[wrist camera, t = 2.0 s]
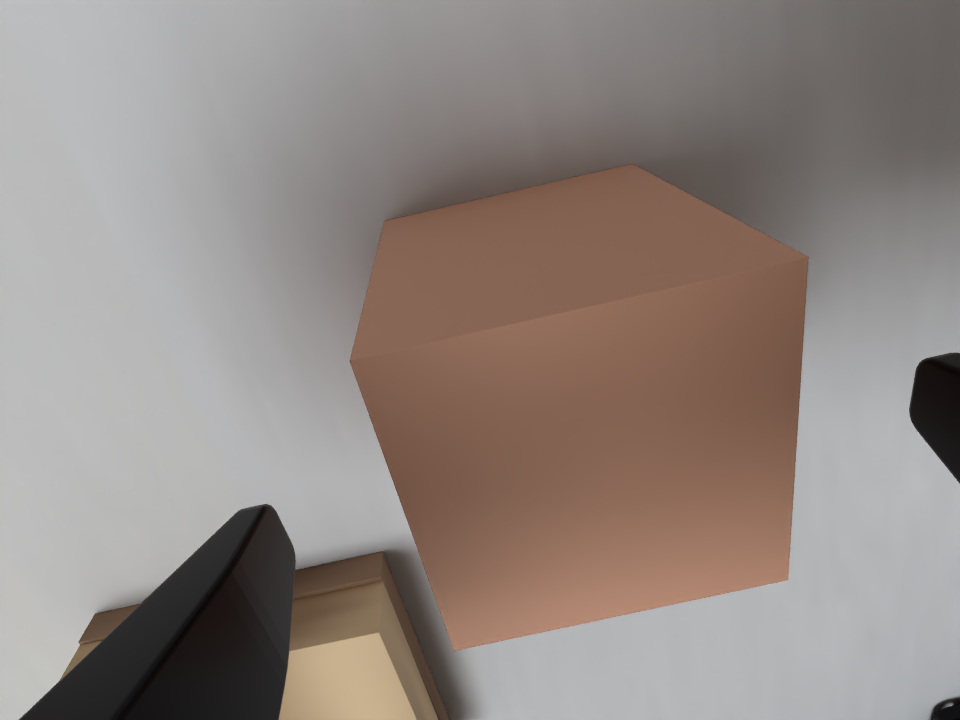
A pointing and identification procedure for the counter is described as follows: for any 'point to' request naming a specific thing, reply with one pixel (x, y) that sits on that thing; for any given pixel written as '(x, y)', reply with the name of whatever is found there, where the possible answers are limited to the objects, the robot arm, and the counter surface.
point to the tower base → (314, 584)
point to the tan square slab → (346, 660)
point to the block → (585, 400)
